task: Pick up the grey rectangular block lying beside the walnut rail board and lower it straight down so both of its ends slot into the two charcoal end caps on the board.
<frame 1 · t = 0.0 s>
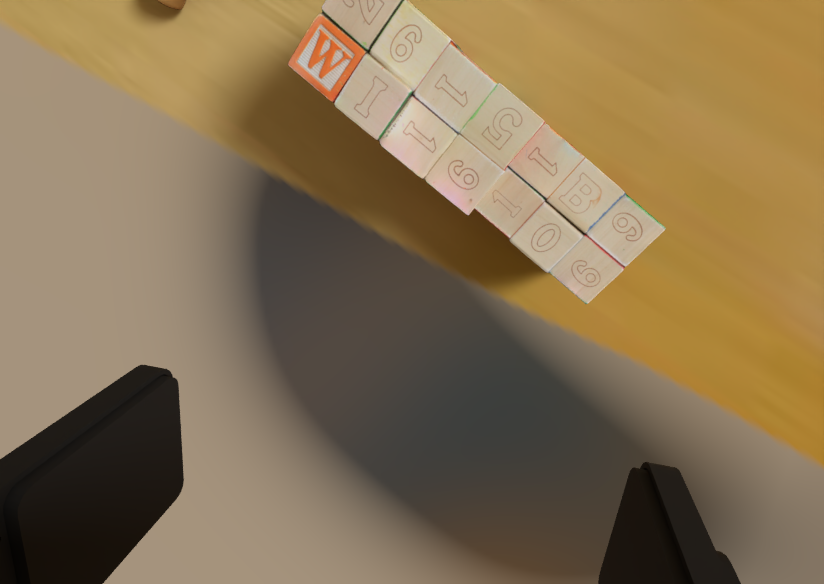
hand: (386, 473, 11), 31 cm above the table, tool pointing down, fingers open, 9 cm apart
stack of blocks: (491, 139, 38), on the table
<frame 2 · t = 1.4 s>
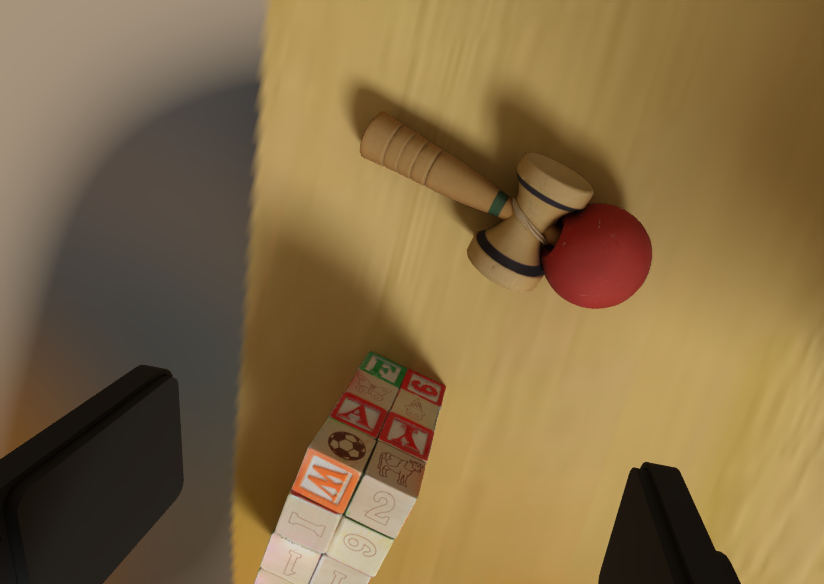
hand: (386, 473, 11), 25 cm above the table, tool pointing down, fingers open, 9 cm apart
stack of blocks: (358, 471, 42), on the table
kendama: (501, 200, 34), on the table
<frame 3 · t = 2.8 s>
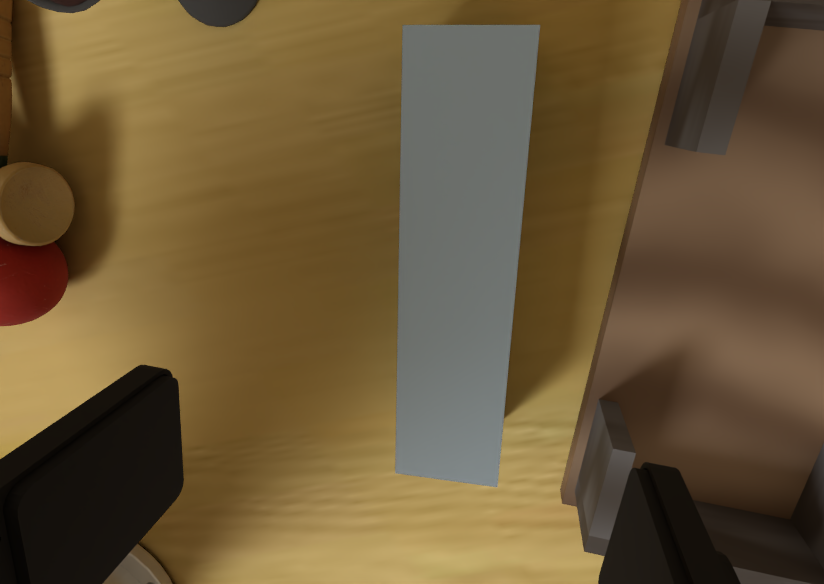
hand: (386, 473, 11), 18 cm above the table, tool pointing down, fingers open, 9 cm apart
grey rectangular block: (467, 250, 28), on the table
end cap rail: (750, 294, 26), on the table
kendama: (32, 159, 31), on the table
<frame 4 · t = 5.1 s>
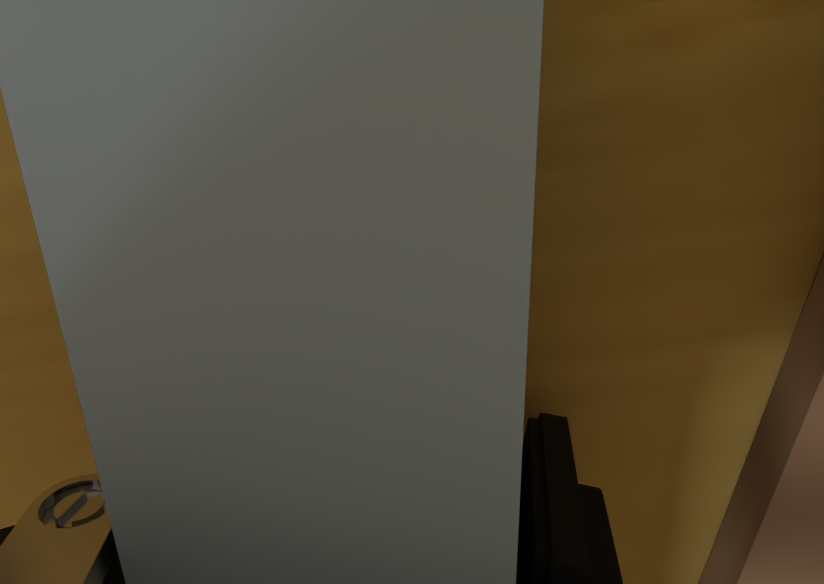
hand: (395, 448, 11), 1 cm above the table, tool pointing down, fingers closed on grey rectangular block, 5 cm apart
grey rectangular block: (404, 425, 12), on the table, touching gripper
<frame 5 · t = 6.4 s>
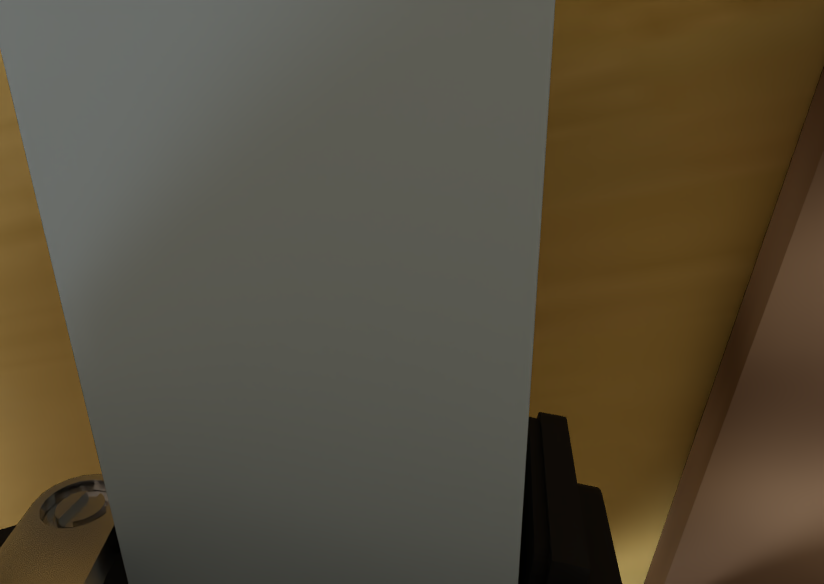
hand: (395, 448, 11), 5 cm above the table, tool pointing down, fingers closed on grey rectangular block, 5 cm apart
grey rectangular block: (404, 423, 12), point 4 cm above the table, touching gripper
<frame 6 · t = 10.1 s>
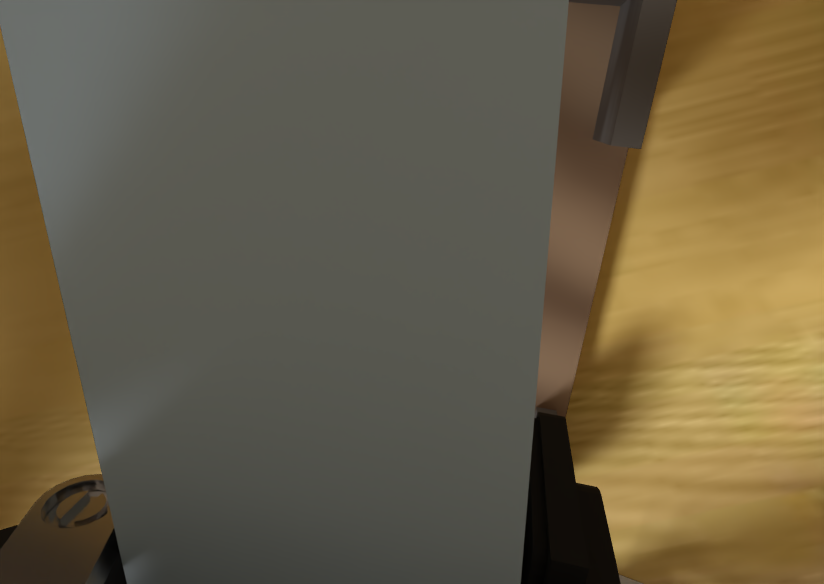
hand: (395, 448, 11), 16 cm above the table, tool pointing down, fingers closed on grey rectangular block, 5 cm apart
grey rectangular block: (404, 422, 12), point 15 cm above the table, touching gripper
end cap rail: (456, 262, 26), on the table
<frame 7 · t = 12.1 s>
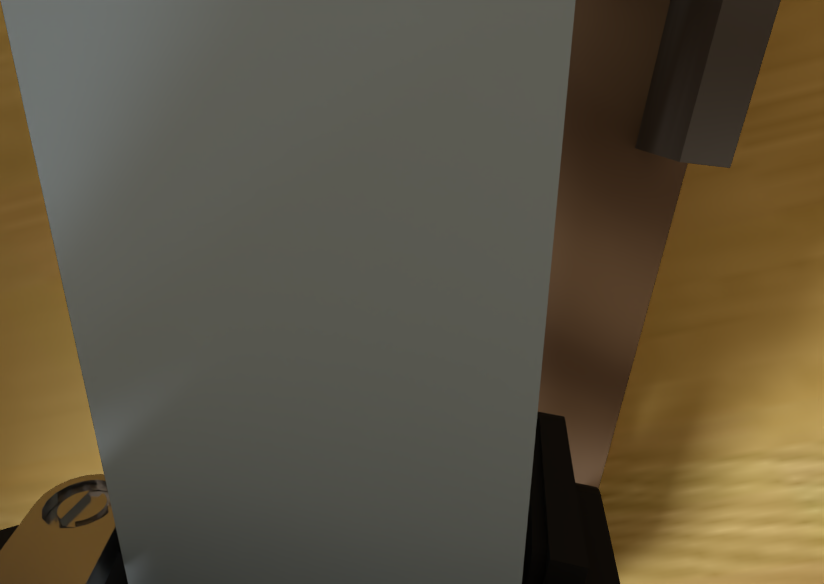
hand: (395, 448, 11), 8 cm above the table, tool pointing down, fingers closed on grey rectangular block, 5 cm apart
grey rectangular block: (404, 421, 12), point 7 cm above the table, touching gripper
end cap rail: (441, 313, 19), on the table
when the fingers open (3 cm above the table, at t = 13.8 s): grey rectangular block drops 1 cm, resting on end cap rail.
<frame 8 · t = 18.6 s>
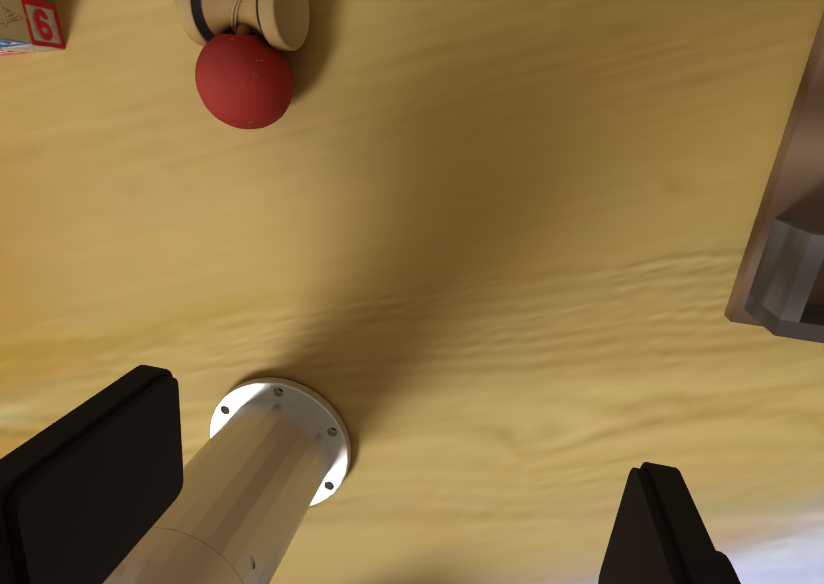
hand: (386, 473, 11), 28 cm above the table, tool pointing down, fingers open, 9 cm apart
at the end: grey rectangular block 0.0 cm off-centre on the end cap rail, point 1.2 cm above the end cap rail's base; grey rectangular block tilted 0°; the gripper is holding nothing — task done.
